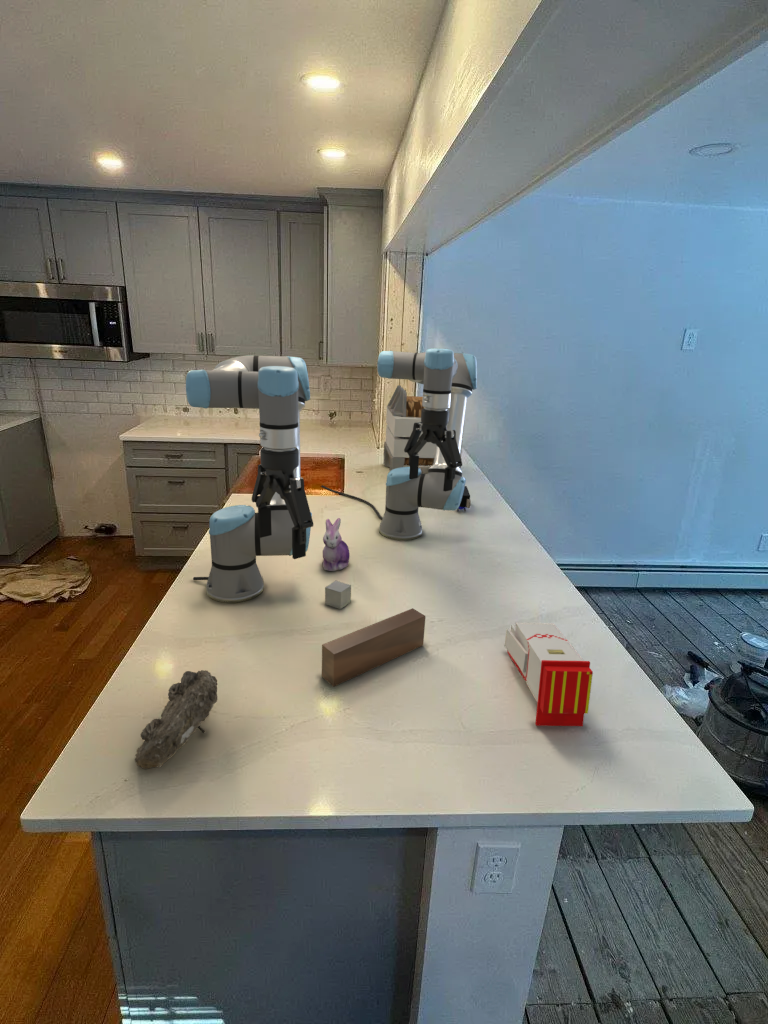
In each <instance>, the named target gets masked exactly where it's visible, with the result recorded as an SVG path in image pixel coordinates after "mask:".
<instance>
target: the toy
mask: <svg viewBox="0 0 768 1024" xmlns="http://www.w3.org/2000/svg"><path fill="white" fill-rule="evenodd" d="M503 645H504V647H505V649H506V650H507V655H508V656H509V658H510V659H511V662H513V664H514V666H515V667H516V669H517V670H518V672H519V673H520V675H521V676H522V679H523V680H524V681H525V683H526V686H527V687H528V689H529V690H530V693H531V694H532V696H533V698H534V700H535V701H536V703H537V704H536V714H535V722H534V723H535V726H537V727H541V726H542V727H583V726H584V719H585V715H586V714H587V715H588V714H589V706H590V705H589V704H590V699H591V691H592V683H593V682H592V681H593V674H594V673H593V672H594V671H593V670H592V669H591V668H590V667H591V661H590V660H584V659H583V658H582V657H581V655H580V654H579V653H578V651H577V650H576V649H575V648H574V647H573V645H572V644H571V643H570V642H569V640H568V639H567V638H566V636H564V633H562V632H561V630H560V629H559V628H558V627H557V625H556V624H555V623H553V622H515V624H511V625H510V628H506V630H505V638H504V644H503Z"/></svg>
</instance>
